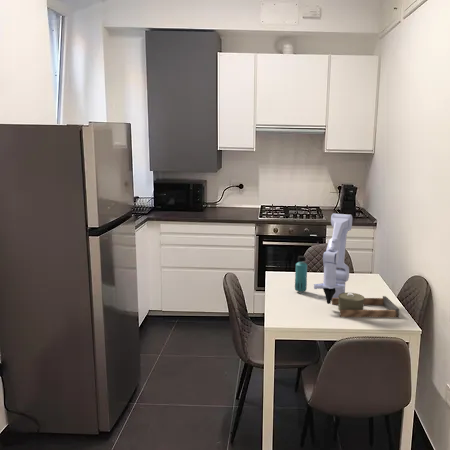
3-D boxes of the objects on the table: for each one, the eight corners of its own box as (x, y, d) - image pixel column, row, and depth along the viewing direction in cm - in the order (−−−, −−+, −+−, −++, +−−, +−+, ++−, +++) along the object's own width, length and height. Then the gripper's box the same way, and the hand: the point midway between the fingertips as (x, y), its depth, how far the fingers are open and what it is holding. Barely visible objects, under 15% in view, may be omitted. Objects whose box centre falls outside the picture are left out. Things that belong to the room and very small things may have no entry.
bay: (340, 316, 209) (341, 308, 209) (331, 303, 227) (332, 295, 226) (398, 317, 209) (399, 309, 209) (385, 303, 227) (385, 296, 226)
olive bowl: (339, 313, 213) (339, 300, 212) (336, 305, 225) (337, 291, 224) (365, 315, 212) (366, 301, 210) (361, 306, 223) (362, 293, 222)
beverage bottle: (305, 290, 247) (306, 254, 244) (307, 294, 241) (309, 257, 237) (293, 290, 247) (294, 254, 244) (295, 294, 241) (296, 257, 237)
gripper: (316, 278, 211) (315, 305, 214) (347, 278, 211) (345, 306, 214) (313, 273, 218) (312, 300, 221) (343, 274, 218) (342, 301, 221)
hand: (328, 303), depth 218 cm, fingers closed
